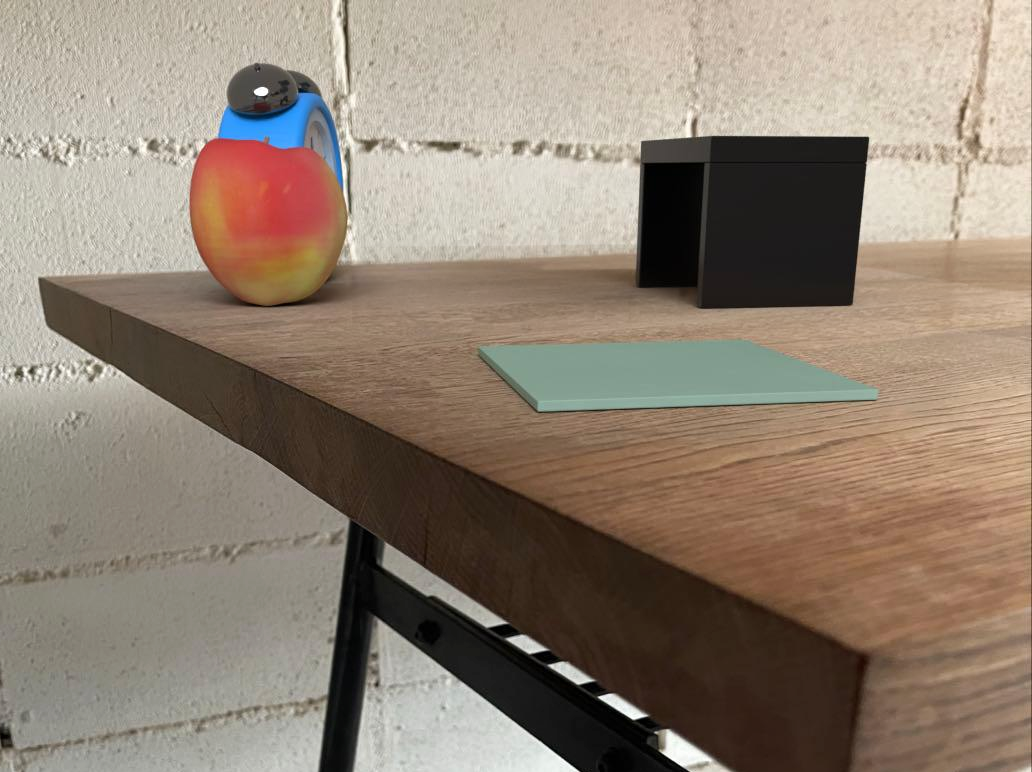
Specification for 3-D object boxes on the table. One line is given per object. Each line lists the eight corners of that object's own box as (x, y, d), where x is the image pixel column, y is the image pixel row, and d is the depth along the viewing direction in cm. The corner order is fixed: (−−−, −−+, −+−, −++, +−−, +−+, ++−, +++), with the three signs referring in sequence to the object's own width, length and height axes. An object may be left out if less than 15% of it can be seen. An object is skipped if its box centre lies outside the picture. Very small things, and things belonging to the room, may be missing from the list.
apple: (275, 316, 65) (264, 133, 62) (162, 306, 70) (146, 135, 67) (379, 301, 73) (374, 136, 70) (270, 292, 78) (261, 138, 75)
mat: (744, 347, 54) (745, 339, 54) (878, 400, 42) (879, 389, 42) (477, 354, 52) (477, 346, 52) (537, 412, 40) (537, 401, 40)
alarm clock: (304, 291, 78) (292, 57, 73) (218, 290, 79) (201, 58, 74) (348, 274, 90) (340, 73, 86) (273, 273, 91) (261, 74, 86)
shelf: (764, 283, 84) (774, 141, 81) (853, 305, 71) (869, 136, 68) (634, 285, 82) (640, 140, 79) (701, 308, 69) (711, 135, 66)
